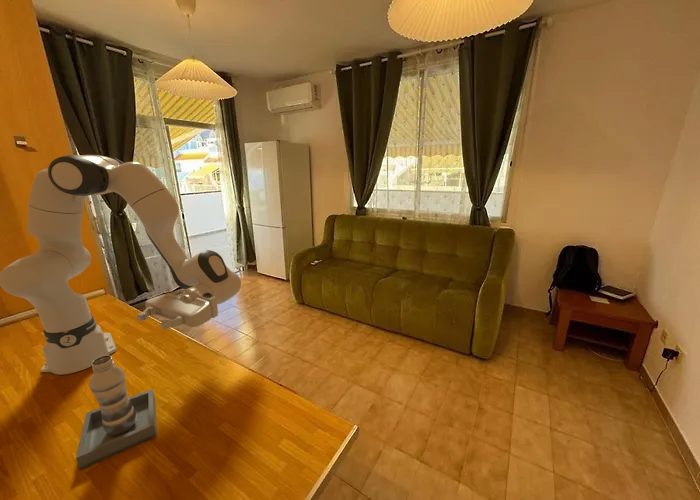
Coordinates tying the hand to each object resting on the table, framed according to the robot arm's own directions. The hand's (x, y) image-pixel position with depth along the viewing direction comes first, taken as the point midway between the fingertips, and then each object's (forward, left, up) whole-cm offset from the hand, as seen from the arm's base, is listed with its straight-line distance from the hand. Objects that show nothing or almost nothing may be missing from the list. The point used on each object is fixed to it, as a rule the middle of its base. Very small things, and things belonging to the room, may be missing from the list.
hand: (150, 322), depth 75 cm
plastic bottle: (+7, -10, -23) cm, 26 cm away
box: (+7, -10, -24) cm, 27 cm away
